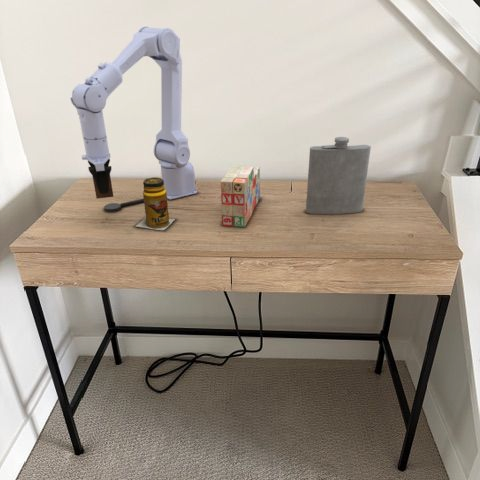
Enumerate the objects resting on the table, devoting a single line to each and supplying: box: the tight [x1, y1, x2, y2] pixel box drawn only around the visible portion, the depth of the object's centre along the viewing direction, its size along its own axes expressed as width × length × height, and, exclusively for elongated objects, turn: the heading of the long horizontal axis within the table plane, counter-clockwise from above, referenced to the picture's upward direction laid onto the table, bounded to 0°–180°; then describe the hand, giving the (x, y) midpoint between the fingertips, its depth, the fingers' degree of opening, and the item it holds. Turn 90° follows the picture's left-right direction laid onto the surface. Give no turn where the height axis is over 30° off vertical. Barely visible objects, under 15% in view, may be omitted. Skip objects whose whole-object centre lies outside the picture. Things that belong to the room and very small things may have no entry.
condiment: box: [134, 177, 176, 231], centre depth 133 cm, size 7×8×12 cm
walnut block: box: [92, 175, 115, 199], centre depth 133 cm, size 4×4×6 cm
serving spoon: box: [103, 197, 144, 213], centre depth 147 cm, size 16×5×1 cm, turn 124°
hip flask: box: [305, 136, 372, 215], centre depth 136 cm, size 16×4×20 cm, turn 94°
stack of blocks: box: [220, 165, 261, 228], centre depth 139 cm, size 21×6×12 cm, turn 167°
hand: (103, 189), depth 134 cm, fingers closed on walnut block, 4 cm apart
